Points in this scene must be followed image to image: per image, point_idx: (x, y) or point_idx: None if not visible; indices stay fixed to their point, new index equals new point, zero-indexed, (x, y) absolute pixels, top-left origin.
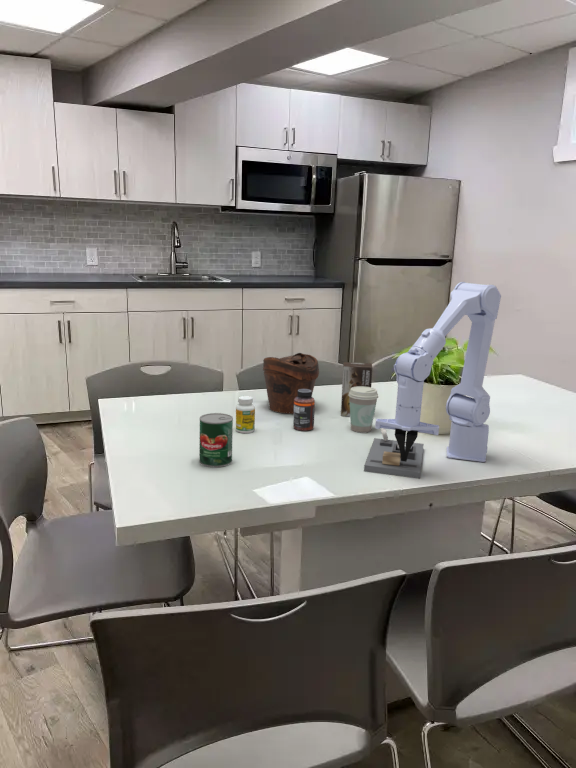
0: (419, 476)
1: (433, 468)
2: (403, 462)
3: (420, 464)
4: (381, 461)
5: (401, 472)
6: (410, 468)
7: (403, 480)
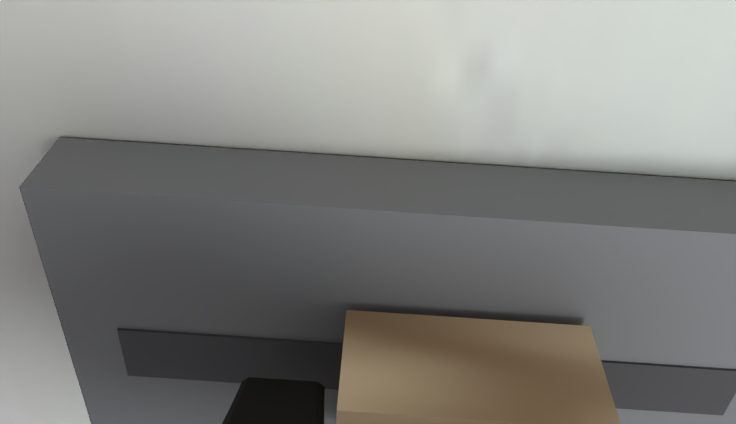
0: (56, 151)
1: (7, 412)
2: None
3: (95, 406)
4: None
5: (308, 182)
6: (187, 278)
7: (267, 4)
